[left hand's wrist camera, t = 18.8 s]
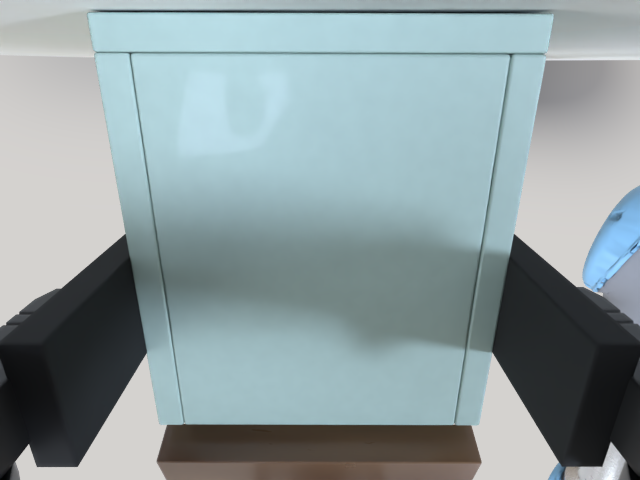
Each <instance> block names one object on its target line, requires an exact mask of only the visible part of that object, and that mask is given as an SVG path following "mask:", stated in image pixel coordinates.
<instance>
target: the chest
mask: <svg viewBox="0 0 640 480" xmlns="http://www.w3.org/2000/svg"><path fill="white" fill-rule="evenodd" d="M87 18H88V23H89V29H90V35H91V40H92V46H93V50H94V51H95V52H97V53H95V54H94V57H95V62H96V68H97V74H98V79H99V85H100V91H101V97H102V102H103V108H104V113H105V119H106V125H107V130H108V136H109V142H110V148H111V153H112V159H113V165H114V170H115V176H116V182H117V187H118V193H119V198H120V204H121V210H122V215H123V221H124V227H125V232H126V238H127V244H128V250H129V255H130V260H131V266H132V271H133V277H134V282H135V288H136V294H137V299H138V305H139V310H140V316H141V321H142V327H143V333H144V338H145V344H146V349H147V357H148V363H149V369H150V374H151V380H152V386H153V391H154V397H155V403H156V408H157V414H158V420H159V424H161V425H182V424H184V422H185V424H228V425H453V424H454V423H455V425H479V422H480V416H481V411H482V405H483V400H484V394H485V389H486V384H487V378H488V373H489V367H490V361H491V356H492V351H493V345H494V340H495V334H496V329H497V323H498V318H499V312H500V307H501V301H502V296H503V290H504V285H505V279H506V274H507V268H508V263H509V257H510V252H511V247H512V241H513V236H514V230H515V225H516V219H517V214H518V208H519V203H520V197H521V192H522V186H523V181H524V175H525V170H526V165H527V159H528V154H529V148H530V142H531V137H532V132H533V126H534V121H535V115H536V110H537V104H538V99H539V93H540V88H541V82H542V77H543V71H544V66H545V60H546V55H544V54H545V53H547V51H548V46H549V41H550V35H551V30H552V24H553V19H554V15H553V14H517V13H221V12H89V13H87Z"/></svg>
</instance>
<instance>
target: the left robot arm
mask: <svg viewBox="0 0 640 480" xmlns="http://www.w3.org/2000/svg"><path fill="white" fill-rule="evenodd" d="M492 352H493V354H494V356H495V357H496V359H497V361H498V362H499V364H500V366H501V367H502V369H503V370H504V372H505V374H506V375H507V377H508V379H509V380H510V382H511V384H512V385H513V387H514V389H515V390H516V392H517V394H518V395H519V397H520V398H521V400H522V402H523V403H524V405H525V407H526V408H527V410H528V412H529V413H530V415H531V417H532V418H533V420H534V422H535V423H536V425H537V427H538V428H539V430H540V432H541V433H542V435H543V436H544V438H545V440H546V441H547V443H548V445H549V446H550V448H551V450H552V451H553V453H554V455H555V456H556V458H557V460H558V461H559V463H560V465H561V466H562V467H603V464H604V461H605V458H606V455H607V452H608V449H609V446H610V443H611V442H612V444H613V445H614V446H615V448H616V449H617V450H618V451H619V453H620V454H621V455H622V457H623V458H624V459H625V463H624V465H623V468H622V471H621V474H620V476H619V479H618V480H640V326H639V325H638V324H634V322H633V320H632V319H631V318H629V317H628V316H627V315H626V314H624V313H621V312H620V310H619V309H618V308H617V307H616V306H614V305H613V304H612V303H611V302H609V301H608V300H607V299H606V298H604V297H602V296H600V295H598V294H596V293H594V292H592V291H590V290H588V289H586V288H584V287H576V286H574V285H573V284H572V283H571V282H570V281H568V280H567V279H566V278H565V277H564V276H563V275H561V274H560V273H559V272H558V271H557V270H556V269H554V268H553V267H552V266H551V265H550V264H549V263H547V262H546V261H545V260H544V259H543V258H542V257H540V256H539V255H538V254H537V253H536V252H535V251H533V250H532V249H531V248H530V247H529V246H527V245H526V244H525V243H524V242H523V241H522V240H521V239H519V238H518V237H517V236H516V235H515V234H514V236H513V241H512V247H511V252H510V257H509V263H508V268H507V274H506V279H505V285H504V290H503V296H502V301H501V307H500V312H499V318H498V323H497V329H496V334H495V340H494V345H493V351H492ZM146 353H147V349H146V344H145V338H144V333H143V327H142V321H141V316H140V310H139V305H138V299H137V294H136V288H135V282H134V277H133V271H132V266H131V260H130V255H129V250H128V244H127V238H126V234H125V235H124V236H122V237H121V238H120V239H119V240H118V241H117V242H115V243H114V244H113V245H112V246H111V247H110V248H108V249H107V250H106V251H105V252H104V253H103V254H101V255H100V256H99V257H98V258H97V259H96V260H94V261H93V262H92V263H91V264H90V265H89V266H87V267H86V268H85V269H84V270H83V271H81V272H80V273H79V274H78V275H77V276H76V277H74V278H73V279H72V280H71V281H70V282H69V283H67V284H66V285H65V286H64V287H63V288H62V289H55V290H53V291H51V292H49V293H47V294H45V295H43V296H41V297H39V298H37V299H35V300H34V301H32V302H31V303H30V304H29V305H27V306H26V307H25V308H24V309H23V310H21V311H20V312H19V315H15V316H14V317H13V318H12V319H10V320H9V321H8V322H7V323H6V325H3V326H2V327H0V480H20V477H19V471H18V468H17V465H16V463H15V461H16V460H17V458H18V457H19V456H20V455H21V453H22V452H23V451H24V449H25V448H26V447H27V445H28V444H29V445H30V448H31V451H32V454H33V457H34V460H35V463H36V465H37V467H78V465H79V464H80V462H81V460H82V459H83V457H84V455H85V454H86V452H87V450H88V449H89V447H90V446H91V444H92V442H93V441H94V439H95V437H96V436H97V434H98V432H99V431H100V429H101V427H102V426H103V424H104V422H105V421H106V419H107V418H108V416H109V414H110V413H111V411H112V409H113V408H114V406H115V404H116V403H117V401H118V399H119V398H120V396H121V394H122V393H123V391H124V389H125V388H126V386H127V385H128V383H129V381H130V379H131V378H132V376H133V375H134V373H135V371H136V370H137V368H138V366H139V365H140V363H141V361H142V360H143V358H144V357H145V355H146Z"/></svg>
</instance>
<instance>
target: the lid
mask: <svg viewBox="0 0 640 480" xmlns="http://www.w3.org/2000/svg"><path fill="white" fill-rule="evenodd" d="M157 464H158V465H159V467H160V469H161V471H162V473H163V475H164V476H165V478H166V480H472V479H473V478H474V476H475V474H476V472H477V470H478V469H479V467H480V465H481V458H480V455H479V451H478V448H477V444H476V441H475V437H474V434H473V430H472V426H471V425H228V424H182V425H167V427H166V430H165V434H164V437H163V441H162V444H161V448H160V451H159V455H158V458H157Z"/></svg>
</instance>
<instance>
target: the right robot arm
mask: <svg viewBox="0 0 640 480" xmlns="http://www.w3.org/2000/svg"><path fill="white" fill-rule="evenodd" d="M583 281H584V284H585V285H586V286H587V287H589V288H591V289H592V291H593V292H602V293H603V297H604V298H606V299H607V300H608V301H609V302H611V303H612V304H613V305H614V306H616V307H617V308H618V309H619V310H620V312H621V313H624V314H626V315H627V316H628V317H629V318H631V319H632V320H633V322H634V324H638V325H639V326H640V186H638V187H636V188H635V189H633V190H632V191H630V192H629V193H628V194H627V195H626V196H625V197H623V199H622V200H621V201H620V202H619V203H618V204H617V205H616V207H615V208H614V209H613V210H612V212H611V213H610V215H609V216H608V218H607V219H606V221H605V222H604V224H603V226H602V227H601V229H600V231H599V232H598V234H597V236H596V238H595V240H594V242H593V244H592V246H591V248H590V251H589V253H588V256H587V258H586V261H585V265H584V269H583ZM624 463H625V459H624V458H623V457H622V455H621V454H620V453H619V451H618V450H617V449H616V448H615V446H614V445H613V444H612V442H611V443H610V446H609V449H608V452H607V455H606V458H605V461H604V464H603V467H562V466H561V465H560V463H558V464H557V465H556V467H555V468H554V470H553V471H552V473H551V475H550V477H549V479H548V480H618V479H619V476H620V474H621V471H622V468H623V465H624Z"/></svg>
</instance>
